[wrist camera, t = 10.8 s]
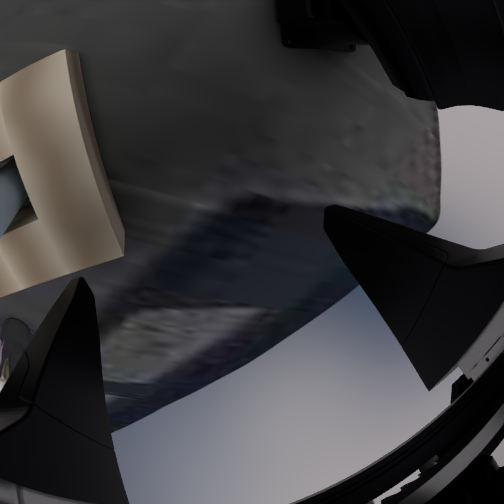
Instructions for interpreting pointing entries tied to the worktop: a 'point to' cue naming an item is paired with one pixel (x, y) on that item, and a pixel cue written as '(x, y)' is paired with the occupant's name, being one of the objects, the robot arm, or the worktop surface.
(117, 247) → the socket block
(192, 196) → the worktop surface
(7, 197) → the dowel
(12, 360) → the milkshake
